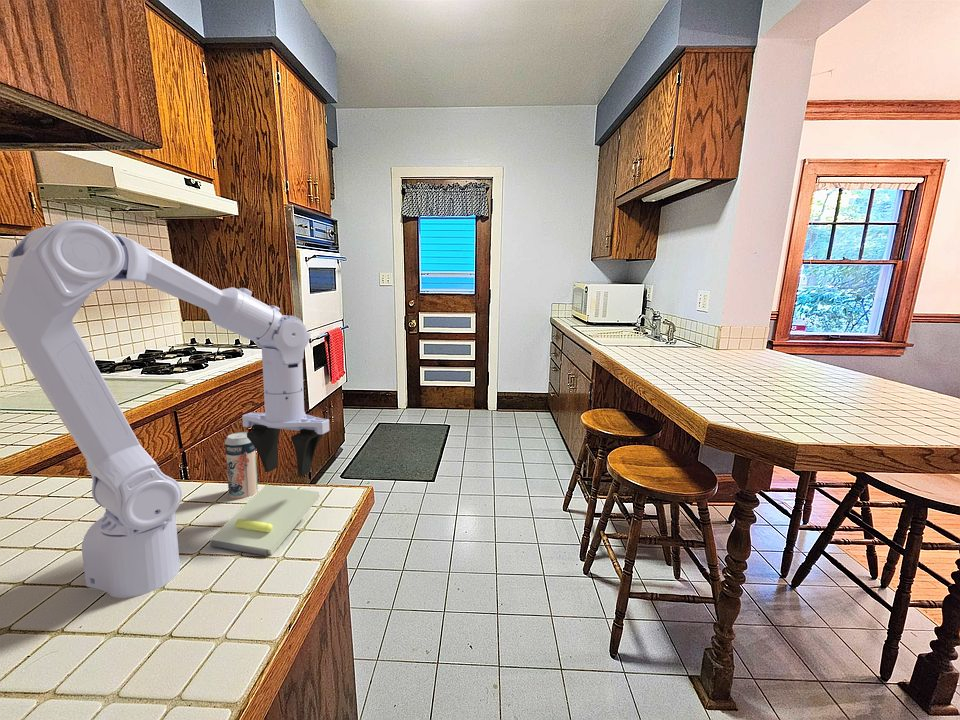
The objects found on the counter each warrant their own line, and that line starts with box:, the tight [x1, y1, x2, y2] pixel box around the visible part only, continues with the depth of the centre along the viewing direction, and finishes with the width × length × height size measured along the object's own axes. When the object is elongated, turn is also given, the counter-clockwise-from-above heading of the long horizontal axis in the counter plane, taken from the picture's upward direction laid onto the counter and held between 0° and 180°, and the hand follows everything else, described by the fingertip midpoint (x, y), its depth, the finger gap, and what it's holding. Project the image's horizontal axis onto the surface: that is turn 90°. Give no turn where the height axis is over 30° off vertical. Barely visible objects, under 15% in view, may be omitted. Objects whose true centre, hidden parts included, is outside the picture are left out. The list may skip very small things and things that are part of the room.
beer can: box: [224, 431, 259, 500], centre depth 76 cm, size 5×5×12 cm
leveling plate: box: [209, 484, 321, 557], centre depth 64 cm, size 10×12×2 cm
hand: (287, 471), depth 68 cm, fingers open, 6 cm apart
